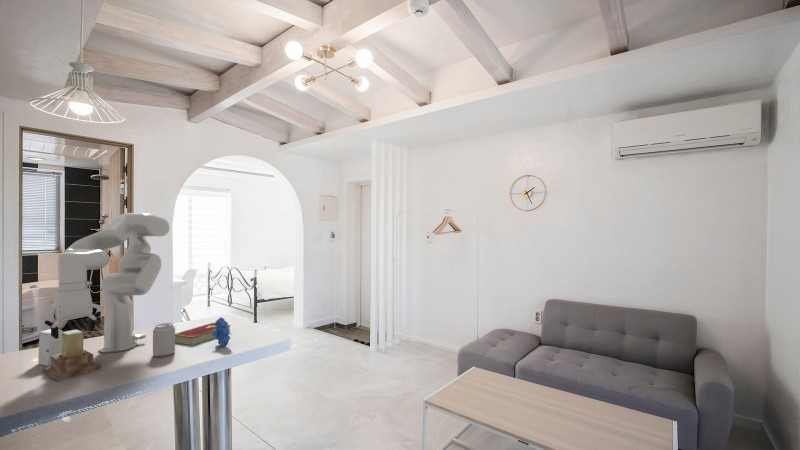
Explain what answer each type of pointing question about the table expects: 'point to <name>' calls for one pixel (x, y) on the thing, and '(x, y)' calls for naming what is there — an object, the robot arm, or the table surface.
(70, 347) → the skincare box
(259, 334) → the table surface
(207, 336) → the hardcover book
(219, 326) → the grapes
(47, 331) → the skincare box
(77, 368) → the slotted stand
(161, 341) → the can
